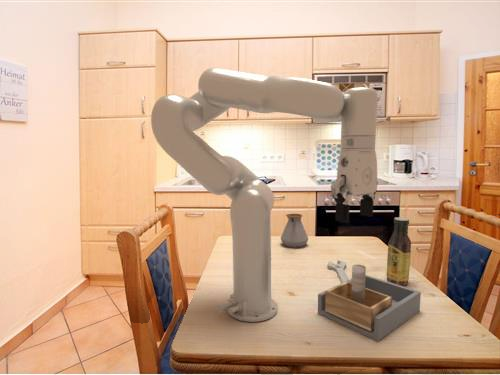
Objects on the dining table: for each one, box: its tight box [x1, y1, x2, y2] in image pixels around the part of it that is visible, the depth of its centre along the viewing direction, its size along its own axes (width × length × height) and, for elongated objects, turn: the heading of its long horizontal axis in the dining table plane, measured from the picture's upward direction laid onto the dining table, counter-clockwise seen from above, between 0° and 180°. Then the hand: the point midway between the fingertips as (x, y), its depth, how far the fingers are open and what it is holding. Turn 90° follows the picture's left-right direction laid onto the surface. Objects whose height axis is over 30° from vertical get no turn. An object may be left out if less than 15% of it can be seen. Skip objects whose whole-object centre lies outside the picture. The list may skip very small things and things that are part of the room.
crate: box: [325, 264, 392, 331], centre depth 79 cm, size 9×12×12 cm
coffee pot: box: [280, 213, 309, 249], centre depth 135 cm, size 21×12×15 cm, turn 168°
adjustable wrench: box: [327, 260, 350, 284], centre depth 105 cm, size 25×6×2 cm, turn 171°
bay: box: [317, 274, 422, 342], centre depth 83 cm, size 20×16×5 cm
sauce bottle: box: [386, 216, 412, 286], centre depth 100 cm, size 7×6×20 cm
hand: (354, 218), depth 78 cm, fingers open, 9 cm apart
